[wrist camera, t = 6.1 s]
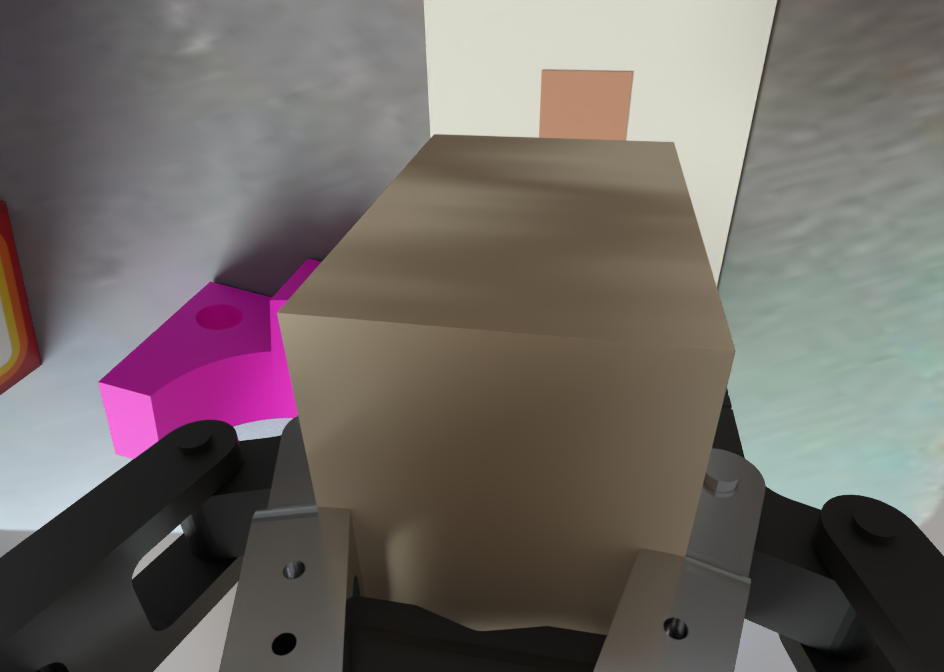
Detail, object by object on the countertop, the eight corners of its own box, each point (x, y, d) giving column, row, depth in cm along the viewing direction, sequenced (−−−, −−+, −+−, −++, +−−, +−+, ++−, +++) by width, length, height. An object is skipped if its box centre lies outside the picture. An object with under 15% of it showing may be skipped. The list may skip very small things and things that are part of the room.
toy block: (544, 317, 26) (517, 441, 20) (514, 425, 30) (484, 558, 24) (205, 232, 28) (84, 325, 21) (216, 346, 31) (115, 453, 25)
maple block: (450, 472, 17) (367, 749, 11) (433, 134, 12) (276, 312, 7) (620, 493, 16) (625, 801, 11) (673, 142, 12) (736, 351, 6)
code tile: (441, 344, 28) (440, 345, 28) (422, -50, 20) (421, -50, 20) (698, 369, 26) (699, 371, 26) (788, -55, 19) (789, -55, 18)
